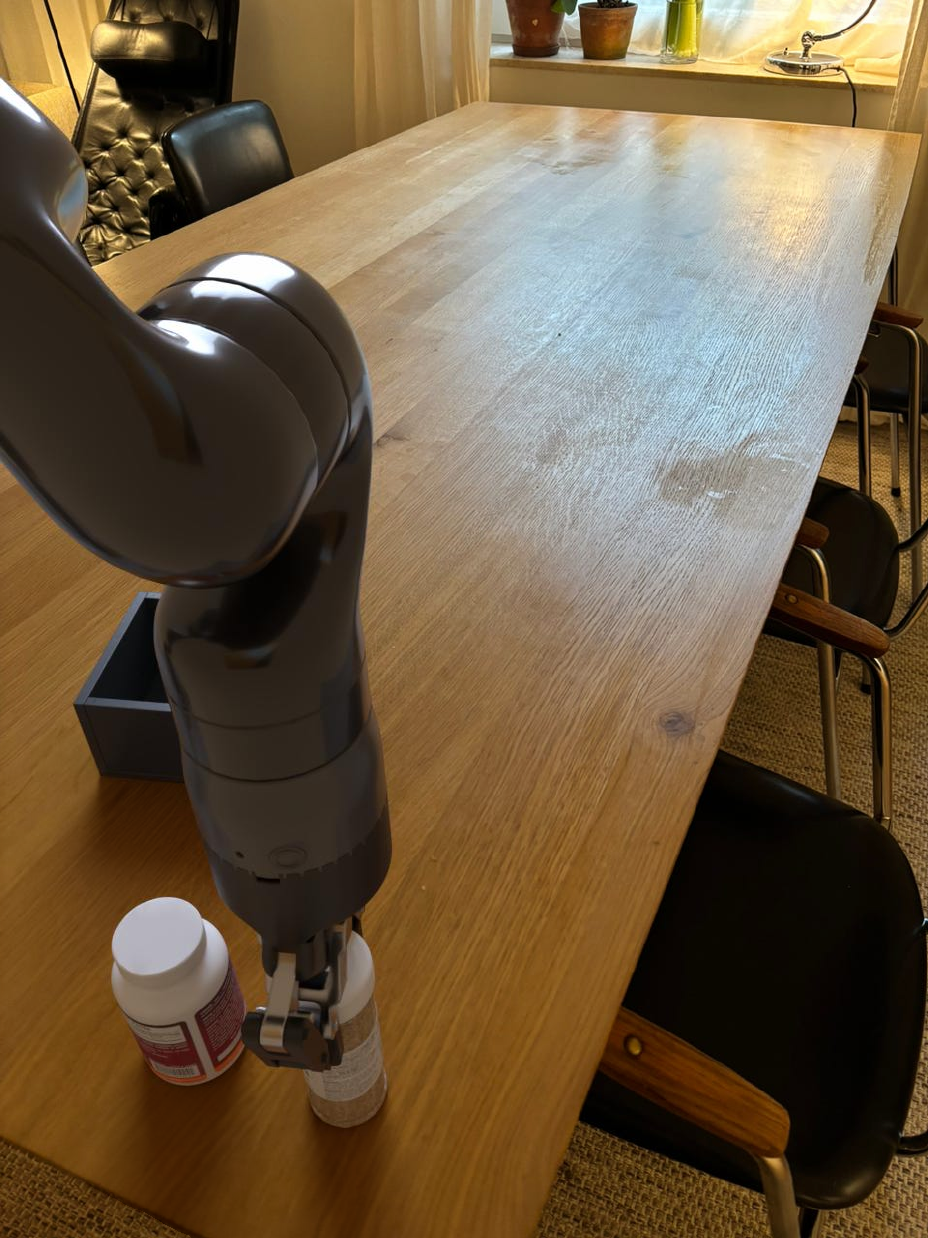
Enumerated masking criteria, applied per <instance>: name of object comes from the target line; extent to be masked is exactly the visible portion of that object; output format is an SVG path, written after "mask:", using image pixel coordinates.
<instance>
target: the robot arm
mask: <svg viewBox="0 0 928 1238" xmlns="http://www.w3.org/2000/svg"><path fill="white" fill-rule="evenodd" d="M88 202H89V179H88V174H87V169H86V167H85V164H84V161H83V159H82V157H81V155H80V153H79V152H78V150H77V148H76V146H74V144H73V143H72V141H71V139H69V137H68V136H67V135H66V134H65V133H64V132H63V130H61V129H60V128H59V126H57V124H55V122H54V121H52V120H51V118H49V117H48V116H47V115H46V114H45V112H43V111H42V109H40V108H39V107H38V106H37V105H36V104H34V102H32V101H31V100H30V99H29V98H28V97H27V96H26V95H25V94H23V92H21V91H20V90H19V89H18V88H17V87H15V86H14V85H13V84H12V83H10V82H9V81H8V80H7V79H5V78H4V77H2V76H0V463H1V464H2V465H3V466H4V467H5V468H6V469H7V471H8V472H9V473H10V475H12V477H13V478H14V479H15V480H16V482H18V483H19V485H20V486H21V487H22V488H23V490H24V491H25V492H26V493H27V494H28V495H29V496H30V498H31V499H32V500H33V501H34V502H35V503H36V505H37V506H38V507H39V508H41V510H42V511H43V512H44V513H45V514H46V515H47V516H48V517H49V518H50V519H51V521H53V522H54V523H55V525H57V527H59V528H60V529H61V530H62V531H63V532H64V533H66V534H67V536H68V535H69V537H70V538H72V539H73V540H74V541H75V542H76V543H78V544H79V545H80V546H81V547H82V548H83V549H85V550H86V551H88V552H89V553H91V554H92V555H93V556H95V557H97V558H99V559H100V560H102V561H104V562H105V563H107V564H109V565H111V566H112V567H114V568H117V569H119V570H121V571H123V572H126V573H128V574H130V575H133V576H134V577H137V578H139V579H143V580H146V581H149V582H152V583H156V584H160V585H164V588H163V590H162V592H161V593H162V594H161V596H160V599H159V602H158V605H157V608H156V612H155V618H154V646H155V653H156V658H157V662H158V667H159V670H160V674H161V678H162V681H163V684H164V688H165V692H166V695H167V699H168V702H169V705H170V709H171V712H172V716H173V719H174V723H175V726H176V729H177V733H178V736H179V741H180V746H181V760H182V768H183V776H184V781H185V783H184V784H185V789H186V792H187V795H188V798H189V802H190V806H191V809H192V812H193V815H194V819H195V822H196V825H197V829H198V832H199V836H200V838H201V839H200V840H201V843H202V846H203V848H204V852H205V855H206V858H207V862H208V865H209V866H208V867H209V868H210V872H211V874H212V879H213V883H214V885H215V889H216V891H217V893H218V895H219V897H220V899H221V901H222V902H223V903H224V905H225V906H226V907H227V908H228V909H229V910H230V912H232V913H233V914H234V915H235V916H236V917H237V918H238V919H240V920H241V921H242V922H243V923H245V924H246V925H247V926H249V927H250V928H251V929H252V930H253V931H255V932H256V940H257V943H258V945H259V946H260V947H261V965H262V969H263V970H264V980H265V992H266V994H267V995H268V998H267V1003H266V1006H264V1005H257V1006H256V1007H255V1010H254V1011H251V1010H248V1012H247V1014H246V1016H245V1019H244V1021H243V1022H242V1025H241V1034H242V1035H241V1038H242V1043H243V1044H244V1045H245V1046H244V1047H246V1049H248V1050H249V1051H250V1052H252V1054H253V1055H255V1057H257V1058H258V1059H259V1060H260V1061H261V1062H262V1063H264V1064H265V1065H266V1066H267V1067H270V1068H290V1069H299V1070H302V1069H306V1070H311V1071H313V1072H321V1073H323V1071H324V1070H328V1071H331V1067H332V1066H339V1065H341V1062H342V1058H343V1053H344V1044H343V1039H342V1034H341V1029H340V1023H339V1018H338V1004H339V1003H340V1001H341V999H342V996H343V993H344V990H345V986H346V983H347V980H348V970H347V945H348V942H349V939H350V936H351V933H352V930H353V931H354V932H356V933H357V934H358V935H360V936H361V937H362V938H363V939H364V934H363V927H362V917H363V914H365V912H366V906H367V904H369V902H370V901H371V900H372V899H373V898H374V897H375V896H376V895H377V893H378V892H379V890H380V889H381V887H382V885H383V883H384V882H385V880H386V878H387V875H388V873H389V870H390V867H391V862H392V858H393V838H392V829H391V828H392V827H391V816H390V805H389V798H388V797H389V795H388V785H387V779H386V769H385V768H386V767H385V757H384V747H383V738H382V733H381V730H380V726H379V721H378V718H377V715H376V711H375V709H374V705H373V699H372V694H371V684H370V675H369V664H368V654H367V646H366V645H367V644H366V637H365V636H366V635H365V629H364V625H363V619H362V613H361V588H362V587H361V585H362V575H363V567H364V560H365V552H366V543H367V535H368V524H369V511H370V502H371V501H370V499H371V486H372V475H373V474H372V473H373V459H374V432H375V431H374V427H375V425H374V405H373V402H374V401H373V394H372V385H371V379H370V374H369V370H368V367H367V362H366V359H365V355H364V352H363V350H362V347H361V344H360V341H359V337H358V336H357V334H356V331H355V329H354V327H353V325H352V323H351V321H350V319H349V318H348V316H347V315H346V313H345V312H344V310H343V309H342V307H341V306H340V304H339V303H338V301H336V299H335V297H333V296H332V294H331V293H330V292H329V290H328V289H326V287H324V286H323V285H322V284H321V283H320V282H319V281H318V280H317V279H316V278H315V277H313V276H312V275H311V274H310V273H308V272H307V271H306V270H304V269H302V268H301V267H299V266H297V265H295V264H293V263H292V262H290V261H288V260H285V259H282V258H280V257H277V256H274V255H270V254H267V253H262V252H255V251H235V252H225V253H222V254H218V255H214V256H211V257H209V258H206V259H204V260H201V261H199V262H196V264H193V265H192V266H190V267H188V268H186V269H184V270H183V271H182V272H180V273H178V274H177V276H175V277H174V278H173V279H171V280H170V281H168V282H167V284H165V285H164V286H163V287H162V288H160V290H158V291H156V293H155V294H153V296H151V297H150V298H149V299H148V300H147V301H146V302H144V303H143V304H142V305H140V306H139V308H138V309H136V310H135V311H133V310H132V309H131V308H130V307H128V306H127V305H126V304H125V302H123V301H122V300H121V299H120V298H119V297H118V296H117V295H116V294H115V293H114V291H113V290H112V289H111V288H110V287H109V286H108V285H107V284H106V283H105V282H104V280H103V279H102V278H101V277H100V275H99V274H98V273H97V272H96V271H95V270H94V268H93V267H92V266H91V264H89V263H88V261H87V260H86V259H85V257H84V256H83V255H82V254H81V253H80V251H79V250H78V248H77V247H76V245H74V243H75V241H76V240H77V238H78V235H79V232H80V231H81V229H82V225H83V222H84V220H85V216H86V214H87V209H88ZM328 967H329V969H330V971H325V970H326V969H327V968H328ZM299 1001H306V1002H314V1003H317V1004H318V1005H319V1006H320V1007H321V1008H312V1007H302V1006H299Z"/></svg>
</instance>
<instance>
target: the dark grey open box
mask: <svg viewBox="0 0 928 1238" xmlns="http://www.w3.org/2000/svg"><path fill="white" fill-rule="evenodd" d="M161 594H162V592H157V591H156V592H154V591H142V590H141V591H140V590H139V591H137V593H136V594H135V597H134V599H133V600H132V602H131V603H130V605H129V607H128V608H127V610H126V612H125V614H124V615H123V617H122V619H121V620H120V622H119V624H118V626H117V627H116V629H115V632H114V633H113V634H112V636H111V638H110V640H109V641H108V643H107V644H106V647H104V650H103V652H101V654H100V657H99V658H98V660H97V661H96V664H95V665H94V667H93V669H92V670H91V672H90V674H89V675H88V677H87V679H86V680H85V682H84V684H83V685H82V687H81V689H80V691H79V692H78V694H77V696H76V698H75V699H74V701H73V703H72V706H73V708H74V711H75V714H76V716H77V719H78V722H79V724H80V727H81V729H82V732H83V734H84V737H85V740H86V743H87V746H88V748H89V750H90V753H91V755H92V757H93V758H92V759H93V761H94V764H95V766H96V769H97V771H98V774H99V776H105V777H114V778H115V777H116V778H127V779H137V780H147V781H148V780H151V781H162V782H174V783H184V784H185V781H184V776H183V768H182V760H181V746H180V741H179V736H178V733H177V729H176V726H175V723H174V719H173V716H172V712H171V709H170V705H169V702H168V699H167V695H166V692H165V688H164V684H163V681H162V678H161V674H160V670H159V667H158V662H157V658H156V653H155V646H154V618H155V612H156V608H157V605H158V602H159V599H160V596H161Z"/></svg>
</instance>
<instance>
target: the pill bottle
mask: <svg viewBox="0 0 928 1238" xmlns="http://www.w3.org/2000/svg"><path fill="white" fill-rule="evenodd" d="M111 954H112V958H113V963H112V964H113V965H112V968H111V975H110V977H111V978H110V979H111V980H110V981H111V982H110V983H111V989H112V992H113V996H114V998H115V1000H116V1003H117V1006H118V1007H119V1009H120V1011H121V1012H122V1015H123V1017H124V1019H125V1021H126V1023H127V1024H128V1026H129V1029H130V1031H131V1033H132V1036H133V1038H134V1039H135V1041H136V1043H137V1045H138V1048H139V1049H140V1051H141V1053H142V1055H143V1057H144V1060H145V1062H146V1063H147V1065H148V1066H149V1068H150V1070H152V1072H153V1073H154V1074H155V1075H156V1076H158V1077H159V1078H160V1079H162V1080H163V1081H165V1082H168V1083H170V1084H173V1085H177V1086H197V1085H201V1084H204V1083H207V1082H210V1081H212V1080H214V1079H216V1078H217V1077H219V1076H221V1075H222V1074H223V1073H224V1072H226V1071H227V1070H228V1069H230V1068H231V1066H233V1065H234V1063H235V1062H237V1060H238V1058H239V1057H240V1055H241V1054H242V1052H243V1051H244V1049H245V1047H246V1046H245V1045H244V1044H243V1043H242V1038H241V1035H242V1034H241V1025H242V1022H243V1021H244V1019H245V1016H246V1014H247V1012H249V1010H248V1006H247V1003H246V1001H245V998H244V994H243V991H242V989H241V986H240V983H239V980H238V977H237V974H236V970H235V968H234V965H233V962H232V959H231V956H230V953H229V950H228V946H227V943H226V941H225V939H224V937H223V936H222V934H221V932H220V931H219V930H218V929H217V927H215V926H214V925H213V923H211V922H210V921H208V920H207V919H205V918H202V915H201V914H200V912H199V911H198V910H197V908H196V907H195V906H194V905H193V904H191V903H190V902H189V901H186V900H185V899H182V898H178V897H171V896H168V897H167V896H165V897H164V896H163V897H155V898H153V899H150V900H147V901H145V902H143V903H140V904H139V905H137V906H135V907H134V908H132V910H130V911H129V912H128V913H127V914H126V915H124V917H123V918H122V919H121V920H120V922H119V923H118V925H117V926H116V929H115V930H114V932H113V936H112V940H111Z"/></svg>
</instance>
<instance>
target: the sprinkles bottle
mask: <svg viewBox="0 0 928 1238" xmlns="http://www.w3.org/2000/svg"><path fill="white" fill-rule="evenodd" d="M347 970H348V980H347V983H346V986H345V990H344V993H343V996H342V999H341V1001H340V1003H339V1004H338V1018H339V1023H340V1029H341V1034H342V1039H343V1044H344V1053H343V1058H342V1062H341V1065H339V1066H332V1067H331V1071H328V1070H324V1071H323V1073H321V1072H313V1071H311V1070H306V1069H301V1071H302V1074H303V1077H304V1080H305V1082H306V1084H307V1098H308V1102H309V1104H310V1106H311V1108H312V1110H313V1112H314V1114H315V1115H316V1116H317V1117H318V1118H319V1119H320V1120H321V1121H322V1122H324V1123H327V1124H328V1125H330V1126H333V1127H337V1128H343V1129H349V1128H352V1127H356V1126H360V1125H361V1124H364V1123H366V1122H368V1121H369V1120H370V1119H371V1118H373V1117H374V1116H375V1115H376V1114H377V1113H378V1111H379V1110H380V1109H381V1106H382V1105H383V1103H384V1101H385V1100H386V1099H385V1098H386V1096H387V1091H388V1079H387V1073H386V1069H385V1067H384V1065H383V1061H384V1054H383V1046H382V1039H381V1030H380V1023H379V1014H378V1013H379V1012H378V1006H377V1002H376V999H375V995H374V988H375V984H376V975H375V967H374V961H373V956H372V953H371V950H370V947H369V946H368V944H367V942H366V940H365V939H364V937H363V938H362V937H361V936H360V935H358V934H357V933H356V932H354V931H353V930H352V933H351V936H350V939H349V942H348V945H347ZM325 971H330V969H329V967H328V968H327V969H326V970H325ZM299 1006H302V1007H312V1008H321V1007H320V1006H319V1005H318V1004H317V1003H314V1002H306V1001H299Z"/></svg>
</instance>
